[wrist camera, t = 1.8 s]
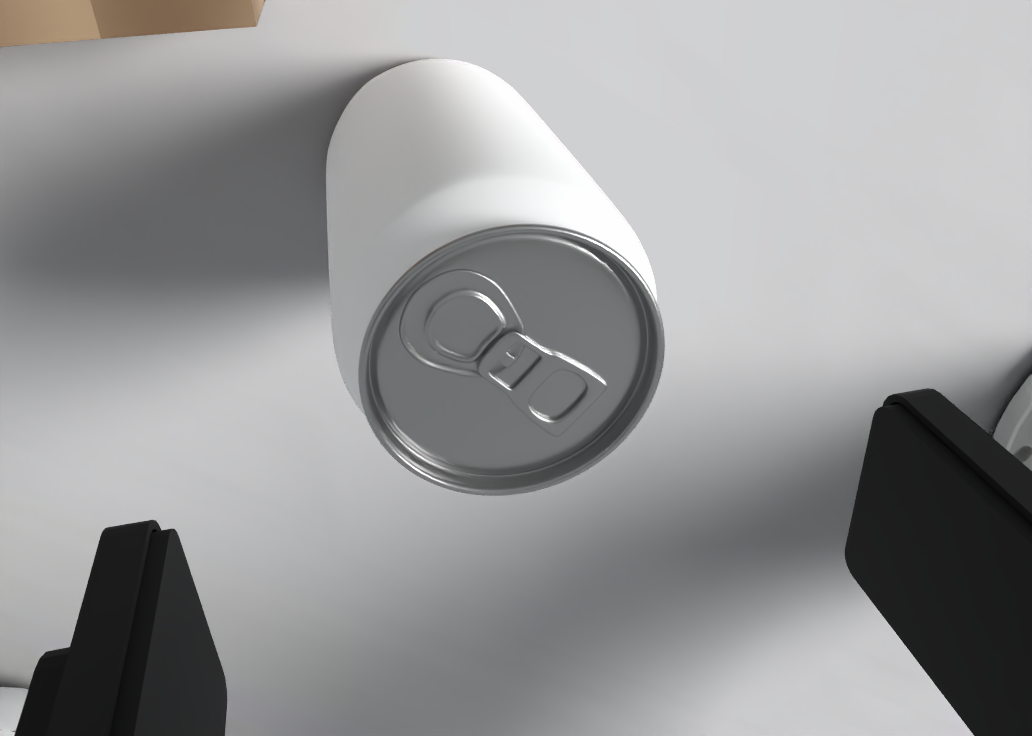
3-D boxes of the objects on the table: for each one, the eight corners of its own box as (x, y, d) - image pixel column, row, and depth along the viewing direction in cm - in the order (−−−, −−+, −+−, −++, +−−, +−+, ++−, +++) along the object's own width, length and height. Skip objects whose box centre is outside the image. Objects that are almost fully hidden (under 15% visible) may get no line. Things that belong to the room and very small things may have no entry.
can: (420, 2, 23) (502, 117, 13) (586, 151, 26) (755, 338, 16) (279, 185, 25) (256, 411, 15) (450, 305, 28) (527, 561, 18)
